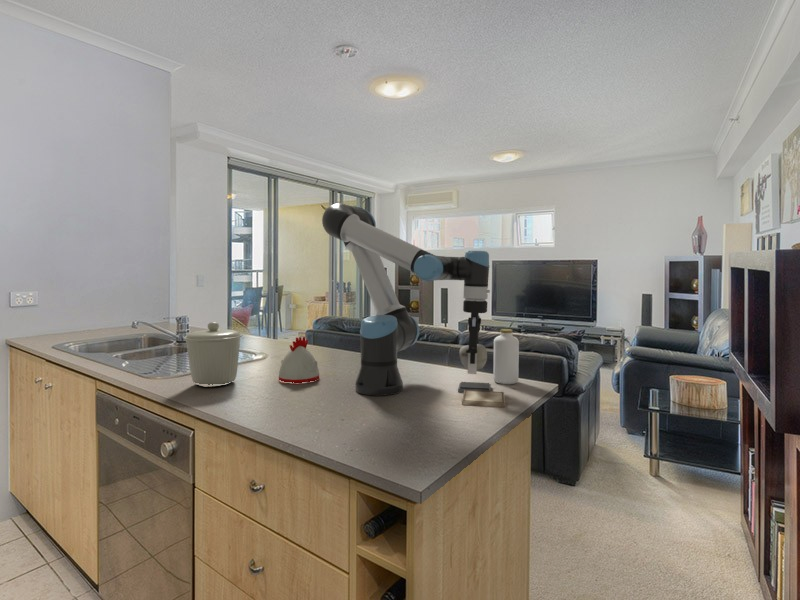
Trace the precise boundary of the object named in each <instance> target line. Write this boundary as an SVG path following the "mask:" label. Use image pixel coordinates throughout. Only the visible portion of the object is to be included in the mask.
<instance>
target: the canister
mask: <svg viewBox="0 0 800 600" xmlns="http://www.w3.org/2000/svg"><path fill="white" fill-rule="evenodd" d="M242 337H243V333H240V332H239V331H237V330H236V329H235V330H234V329H227V328H225V329H223V328H222V329H220V325H219V323H218V322H217V321H210V322H209V323H208V324H207V329H202V330H196V331H192V332H189V333H188V334H187V335H184V336H183V340H184V341H185V343H186V350H187V352H186V353H187V358H188V364H189V370H190V375H191V379H192V382H193V383H194V382H195V383H199V384H208V385H210V384H212V385H213V384H225V383H229V382H232V381H236V378H237V374H238V373H237V372H238V367H239V357H240V347H241V346H240V345H241V344H240V343H241V338H242Z"/></svg>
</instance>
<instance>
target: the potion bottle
mask: <svg viewBox="0 0 800 600" xmlns="http://www.w3.org/2000/svg"><path fill="white" fill-rule="evenodd" d="M513 331H514V330H513V329H510V328H509V329H508V328H502V329H500V331H499V335H498V336H495V337H494V339H493V372H492V373H493V377H492V378H493V381H494V382H495V383H497V384H500V385H515V384H517V383H518V382H519V367H520V366H519V361H520V359H519V357H520V355H519V353H520V352H519V351H520V349H519V348H520V341H519V338H517V337H516V336H514V335H513V334H514V332H513Z"/></svg>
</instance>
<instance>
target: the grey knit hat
mask: <svg viewBox="0 0 800 600" xmlns="http://www.w3.org/2000/svg"><path fill="white" fill-rule="evenodd" d="M308 342H309V339H306V337H305V336H302V337H301V336H300V337H297V336H296V337H295V341H294V340H293V341H292V344H290V345H289V348H290V350H289V351H288V352H287V353H286V354H285V355H284V358H283V359H282V360H281V361H280V362H281V363H280V364H281V365H280V368H279V371H278V381H279V380H281V381H284V382H292V383H293V382H294V383H302V382H310V381H315V380H317V379H319V380H320V371H319V367H318V361H317V360H316V357H315V356H314V355H313V354H312V352H311V351H310V350H309V349H308V348H307V346H308ZM315 382H316V381H315Z"/></svg>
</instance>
